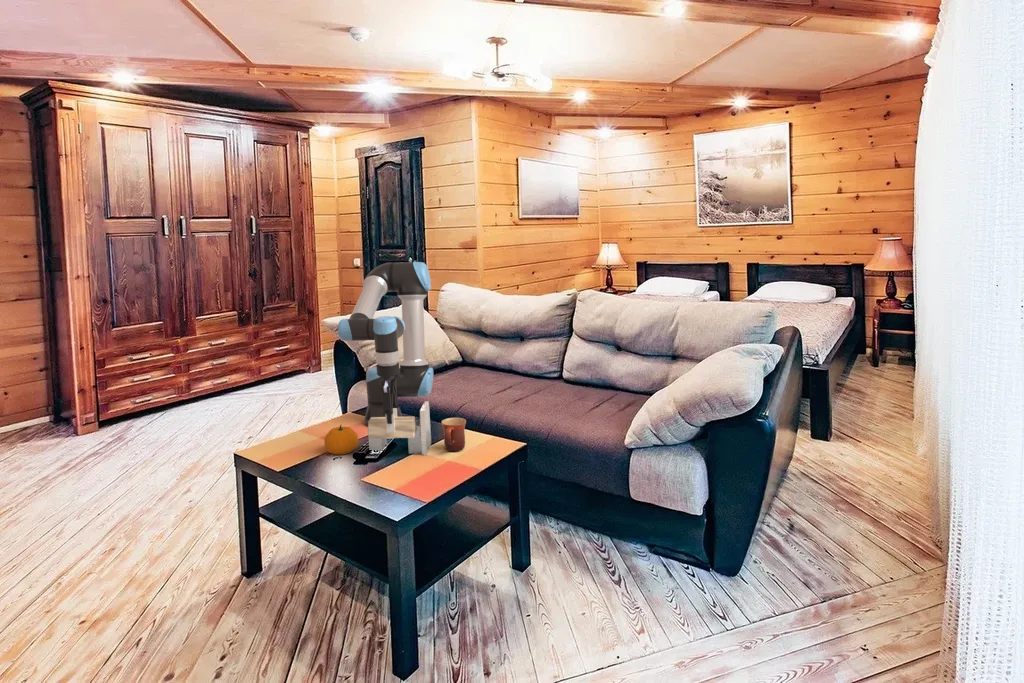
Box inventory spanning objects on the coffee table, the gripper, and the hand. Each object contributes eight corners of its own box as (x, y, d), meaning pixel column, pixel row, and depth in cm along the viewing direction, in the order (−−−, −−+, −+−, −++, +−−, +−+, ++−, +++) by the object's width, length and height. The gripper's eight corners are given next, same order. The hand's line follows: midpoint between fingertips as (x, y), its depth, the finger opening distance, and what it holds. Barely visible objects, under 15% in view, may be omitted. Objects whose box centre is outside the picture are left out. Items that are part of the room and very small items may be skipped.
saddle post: (374, 446, 223) (372, 420, 221) (387, 446, 223) (385, 419, 221) (369, 454, 215) (367, 427, 213) (382, 454, 215) (380, 426, 213)
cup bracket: (413, 443, 225) (411, 401, 222) (431, 443, 225) (429, 401, 222) (407, 455, 213) (405, 411, 210) (426, 455, 213) (424, 410, 210)
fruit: (355, 443, 227) (353, 417, 225) (362, 453, 216) (360, 426, 215) (322, 449, 222) (320, 422, 220) (328, 459, 211) (325, 432, 210)
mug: (446, 444, 223) (445, 417, 222) (470, 445, 222) (468, 418, 220) (436, 456, 212) (435, 427, 210) (460, 457, 210) (459, 428, 208)
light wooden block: (372, 433, 213) (371, 417, 211) (415, 432, 212) (414, 416, 211) (369, 438, 208) (368, 421, 207) (413, 437, 208) (412, 420, 207)
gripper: (382, 357, 214) (386, 421, 218) (370, 370, 196) (375, 439, 201) (403, 356, 213) (407, 420, 218) (393, 369, 196) (398, 438, 201)
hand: (392, 429), depth 210 cm, fingers closed on light wooden block, 4 cm apart
